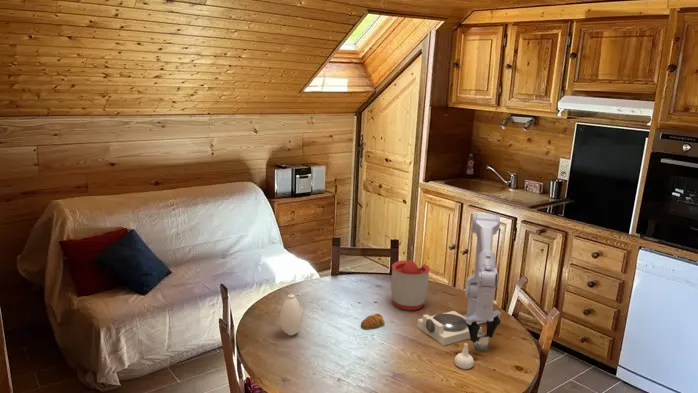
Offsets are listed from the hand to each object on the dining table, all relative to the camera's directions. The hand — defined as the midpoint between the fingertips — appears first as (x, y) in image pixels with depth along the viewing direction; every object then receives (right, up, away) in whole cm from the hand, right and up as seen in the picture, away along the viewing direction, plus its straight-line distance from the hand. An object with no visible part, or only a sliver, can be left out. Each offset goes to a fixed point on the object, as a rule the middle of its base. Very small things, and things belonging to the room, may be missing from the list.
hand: (481, 338), depth 185 cm
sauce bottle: (-68, 0, +6) cm, 69 cm away
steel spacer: (0, -4, +1) cm, 4 cm away
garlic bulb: (-9, -6, -10) cm, 15 cm away
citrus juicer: (-22, +5, +35) cm, 41 cm away
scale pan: (-9, +3, +12) cm, 15 cm away
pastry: (-38, +1, +15) cm, 41 cm away
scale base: (-9, 0, +13) cm, 16 cm away
